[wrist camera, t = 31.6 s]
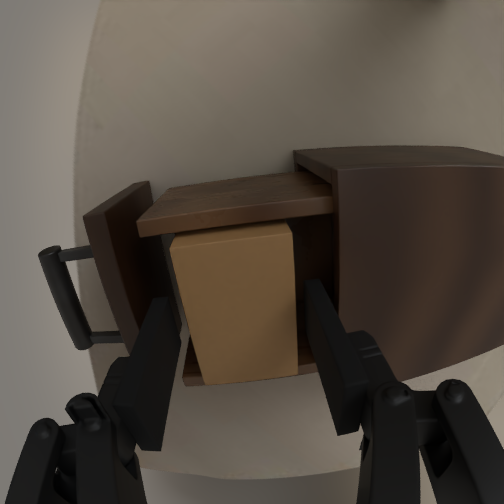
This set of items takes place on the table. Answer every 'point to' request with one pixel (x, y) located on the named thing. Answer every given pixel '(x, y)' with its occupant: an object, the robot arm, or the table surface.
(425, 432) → the robot arm
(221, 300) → the small cardboard box
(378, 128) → the table surface
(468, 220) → the cabinet
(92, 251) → the drawer
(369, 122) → the table surface
